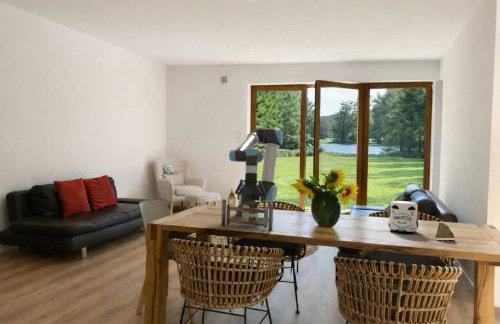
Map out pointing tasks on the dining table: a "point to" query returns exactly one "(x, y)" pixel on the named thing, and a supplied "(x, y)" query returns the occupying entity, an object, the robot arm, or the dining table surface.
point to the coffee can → (250, 215)
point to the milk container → (403, 216)
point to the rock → (444, 231)
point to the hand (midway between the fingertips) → (250, 206)
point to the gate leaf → (247, 211)
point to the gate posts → (269, 214)
